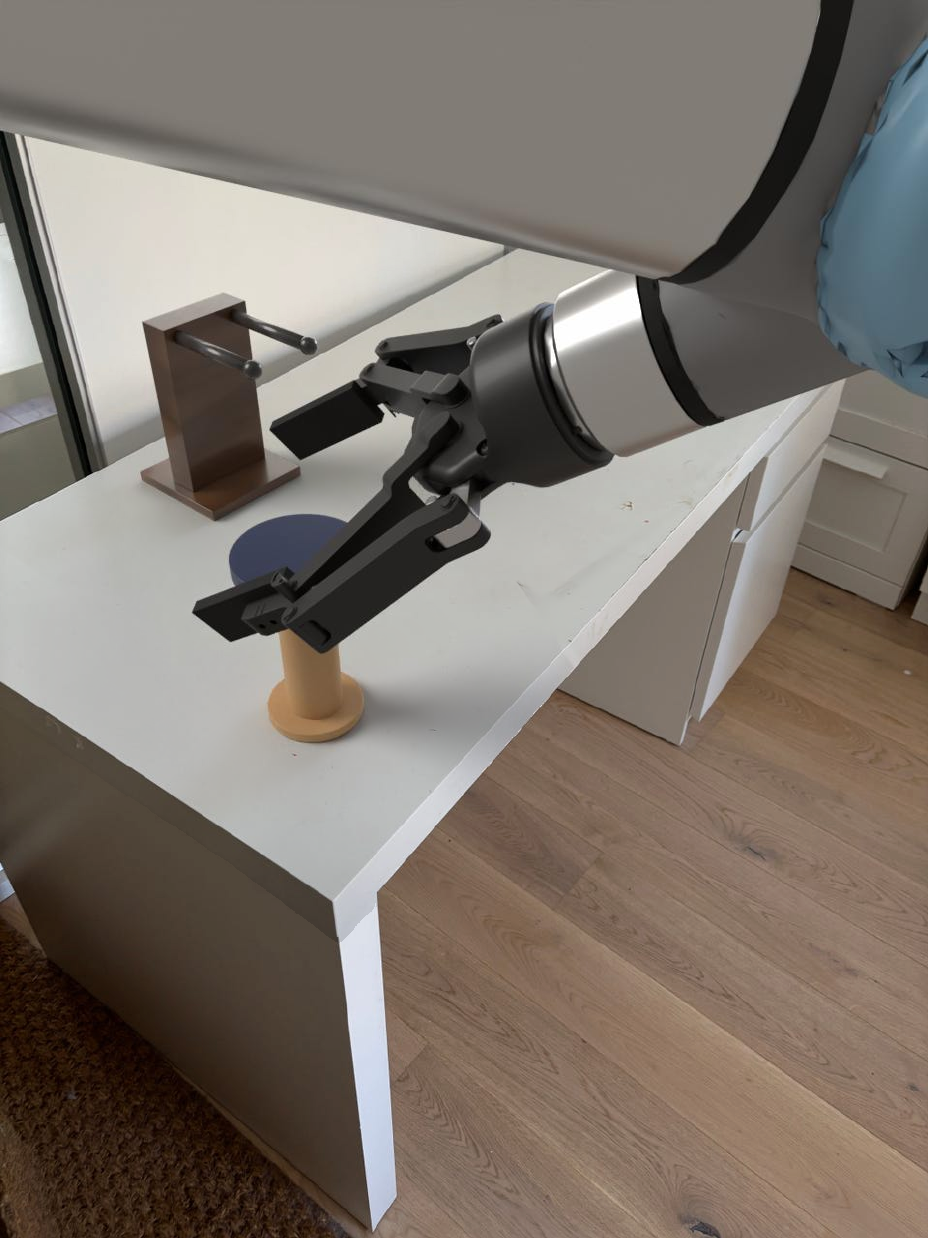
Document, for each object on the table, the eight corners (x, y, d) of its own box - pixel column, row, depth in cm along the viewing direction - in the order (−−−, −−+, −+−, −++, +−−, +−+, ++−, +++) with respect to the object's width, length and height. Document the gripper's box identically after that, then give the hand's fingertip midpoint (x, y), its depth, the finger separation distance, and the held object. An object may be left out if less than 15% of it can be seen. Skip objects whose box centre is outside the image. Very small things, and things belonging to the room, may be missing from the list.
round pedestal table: (268, 766, 67) (242, 607, 58) (244, 682, 73) (217, 527, 64) (393, 734, 69) (386, 578, 60) (358, 656, 76) (348, 503, 67)
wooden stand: (346, 497, 93) (334, 328, 83) (259, 547, 87) (234, 370, 76) (228, 438, 102) (204, 278, 91) (141, 480, 95) (103, 312, 84)
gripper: (607, 661, 37) (232, 754, 48) (643, 279, 51) (349, 420, 63) (497, 540, 32) (113, 674, 44) (571, 160, 47) (269, 335, 59)
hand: (252, 524), depth 53 cm, fingers open, 13 cm apart
